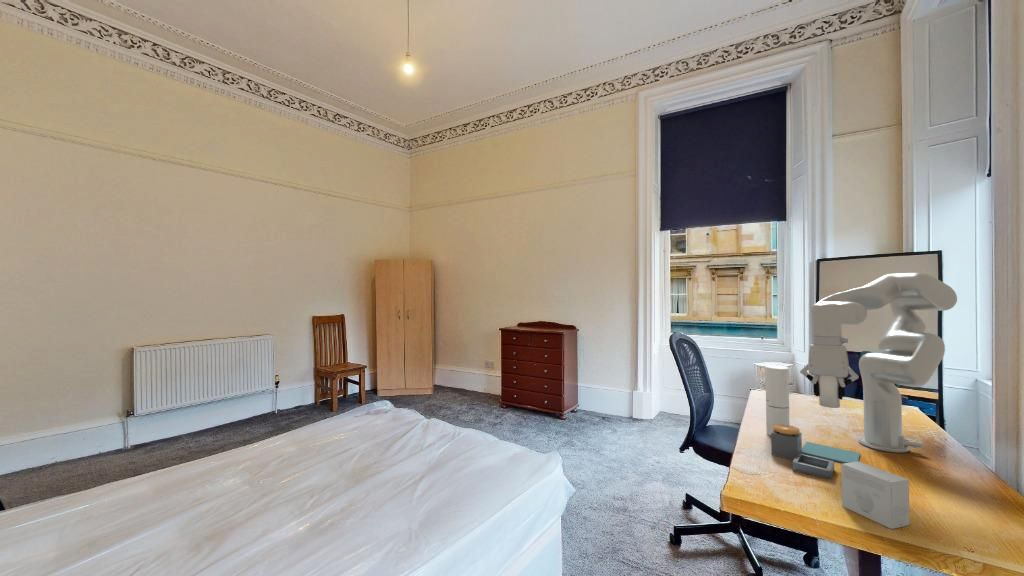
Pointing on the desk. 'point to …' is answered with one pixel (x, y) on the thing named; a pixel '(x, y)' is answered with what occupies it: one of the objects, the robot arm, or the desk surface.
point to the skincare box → (876, 494)
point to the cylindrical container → (777, 396)
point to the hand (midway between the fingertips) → (829, 396)
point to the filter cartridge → (829, 391)
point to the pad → (830, 453)
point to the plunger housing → (786, 445)
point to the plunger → (786, 429)
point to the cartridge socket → (813, 466)
